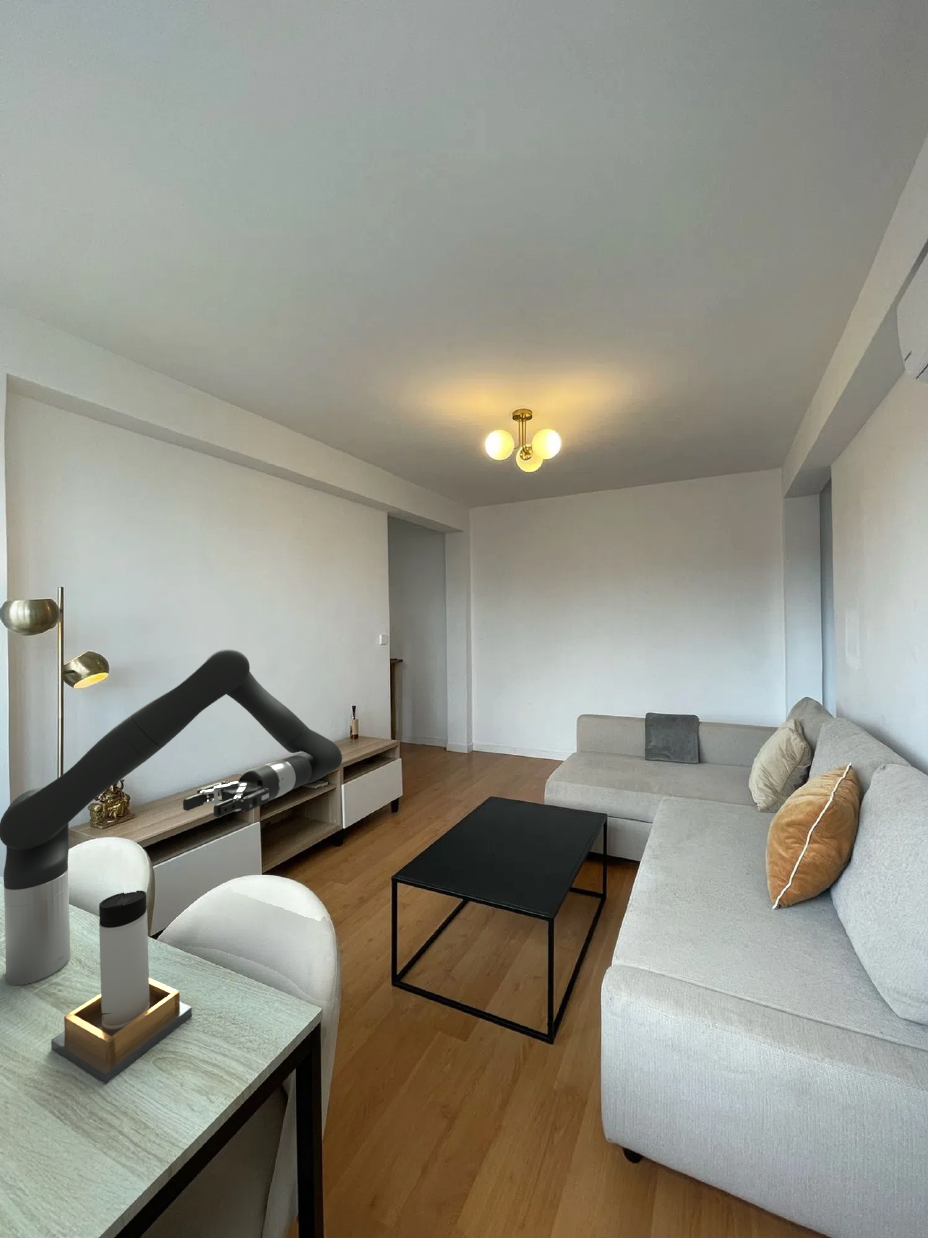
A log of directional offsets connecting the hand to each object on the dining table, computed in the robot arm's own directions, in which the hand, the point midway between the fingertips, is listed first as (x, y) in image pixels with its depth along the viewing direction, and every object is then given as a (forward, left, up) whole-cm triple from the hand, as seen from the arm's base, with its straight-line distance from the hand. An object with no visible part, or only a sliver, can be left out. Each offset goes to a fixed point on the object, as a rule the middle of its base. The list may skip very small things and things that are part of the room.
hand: (199, 808), depth 92 cm
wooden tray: (+1, -15, -30) cm, 33 cm away
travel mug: (+1, -14, -29) cm, 32 cm away
